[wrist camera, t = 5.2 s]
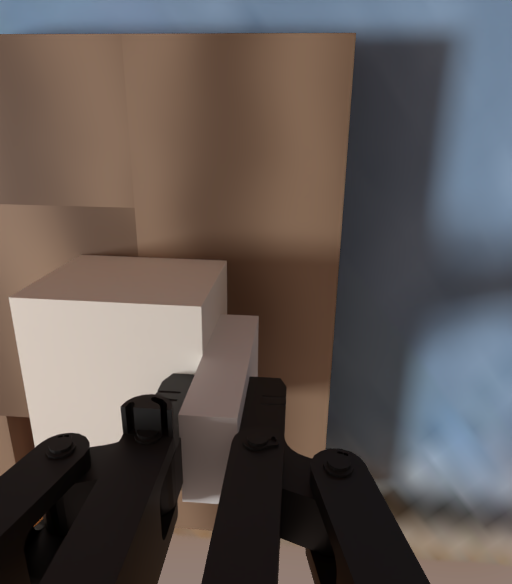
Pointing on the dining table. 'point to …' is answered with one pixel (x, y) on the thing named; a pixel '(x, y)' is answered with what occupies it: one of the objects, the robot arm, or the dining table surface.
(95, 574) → the robot arm
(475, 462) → the dining table surface
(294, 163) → the wooden board
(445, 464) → the dining table surface
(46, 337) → the block
